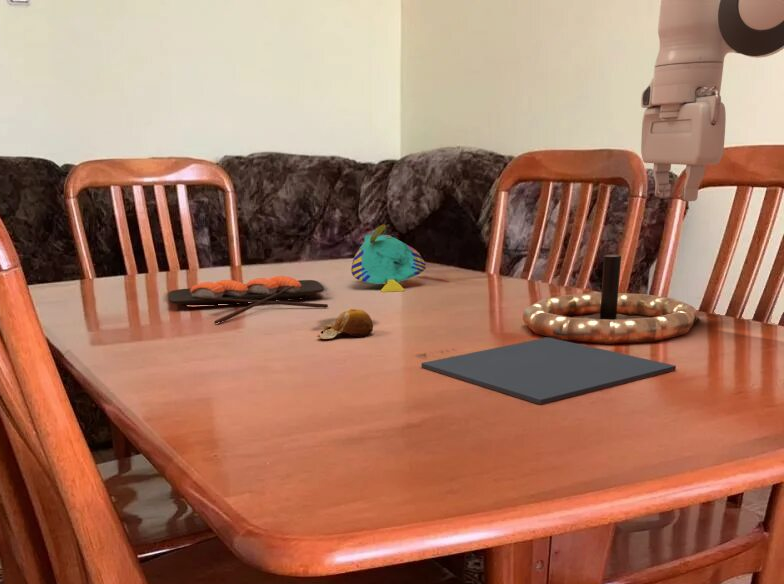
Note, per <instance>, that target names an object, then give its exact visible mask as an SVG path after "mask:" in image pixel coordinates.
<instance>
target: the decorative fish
mask: <svg viewBox="0 0 784 584" xmlns="http://www.w3.org/2000/svg"><path fill="white" fill-rule="evenodd" d="M386 228H387V225H386V224H380V225H379V226H378V227H376V228H375V230H374V231H373V232H372V234H366V235H365V236H364V239H363V240H364V242H363V244H361V246H359V248H358V250H357V251H356V253H355V255H354V257H353V259H352V263H351V275H352V276H353V277H354V279H356V280H358V281H359V282H364V283H369V284H376V285H383V284H385V285H384V286H383V287H382V288H381V290H380V292H381V293H387V292H388V293H389V292H404V291H406V290H405V289H404V287H403V286H402V285H401V284H400V283H401V282H403V281H406V280H408V279H411V278H414V277H417V276H418V275H421V274H422V273H423V272H425V270H426V269H427V264H426V263H425V260H424V258H423V257H422V256H421V254H420V252H418V250H416V249H415V248H413V247H412V246H409V245H408V244H407V243H405V242H403V241H401V240H399V239H397V238H395V237H392V236H391V235H389V234H385V235H382V233H383V232H384V231H385V230H386Z"/></svg>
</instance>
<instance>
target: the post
mask: <svg viewBox="0 0 784 584" xmlns="http://www.w3.org/2000/svg"><path fill="white" fill-rule="evenodd" d="M621 264H622V255H620V254H606V255H604V256H603V266H602V278H601V279H602V280H601V292H600V293H601V307H600V313H599V314H587V315H584V316H583V315H582V316H578V317H577V318H587V319H607V320H617V319H636V318H639V317H638V316H633V315H632V316H631V315H628V314H617V303H618V293H619V291H620V289H619V288H620V277H621Z"/></svg>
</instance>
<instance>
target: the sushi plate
mask: <svg viewBox="0 0 784 584" xmlns="http://www.w3.org/2000/svg"><path fill="white" fill-rule="evenodd" d="M324 291H325V288H324V286H323V285H322V284H321V283H320V282H319V281H318V280H314V279H300V280H299V279H298V280H297V279H296V278H294V277H290V276H286V275H277V276H276V275H275V276H272V277H270V278H265V277H264V278H263V277H261V278H254V279H251V280H248V281H247V282H246V283H245V284H244V283H243V282H241V281H238V280H233V279H223V280H218V281H216V282H210V281H204V282H200V283H197V284H194V285H193V286H192V287H191V288H180V289H174V290H171V291H170V292H168V297H167V298H168V301H169V302H170V303H171V304H179V305H185V306H186V305H218V304H237V303H248V302H253V303H250V304H249V305H247V306H245V307H243V308H240V309H238V310H236V311H233V312H230V313H229V314H227V315H224V316H222V317H220V318H218V319H215V320H214V324H215V323H218V322H222V321H224V322H226V321H228V320H230V319H233V318H234V317H236V316H238V315H241V314H242V313H244V312H246V311H248V310H250V309H252V308H254V307H256V306H258V305H260V304H269V305H280V306H292V307H294V306H295V307H305V308H307V307H308V308H319V307H328V308H329V304H327V303H314V302H313V303H312V302H297V301H295V302H294V301H289V300H288V299H299V300H301V299H300V298H306V297H308V298H309V296H310V295H314V294H318V293H323V292H324ZM306 299H307V298H306ZM276 300H288V301H276ZM237 305H238V304H237ZM222 323H223V322H222Z"/></svg>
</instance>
